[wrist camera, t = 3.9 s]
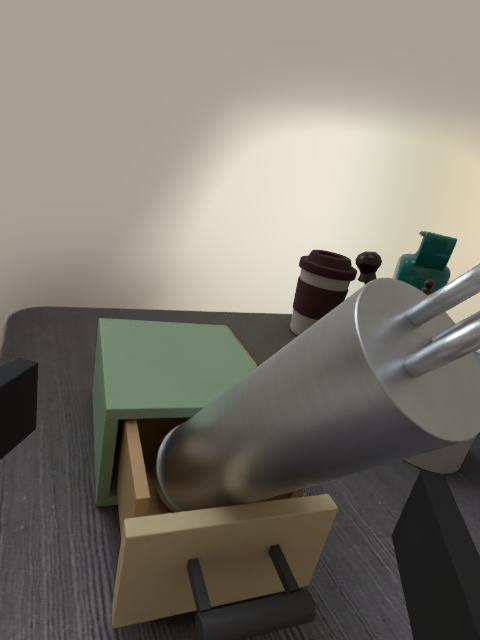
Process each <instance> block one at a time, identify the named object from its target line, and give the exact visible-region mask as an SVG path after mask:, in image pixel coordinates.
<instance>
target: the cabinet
mask: <svg viewBox="0 0 480 640" xmlns="http://www.w3.org/2000/svg"><path fill="white" fill-rule="evenodd" d="M256 368H257V367H256V365H255V364H254V362H253V361H252V360H251V358H250V357H249V356H248V354H247V353H246V352H245V350H244V349H243V347H242V346H241V345H240V343H239V342H238V341H237V339H236V338H235V337H234V335H233V334H232V332H231V331H230V330H229V328H228V327H227V326H224V325H207V324H190V323H173V322H156V321H139V320H122V319H104V318H99V324H98V335H97V347H96V358H95V369H94V380H93V391H92V394H93V427H94V460H95V494H96V507H101V506H111V505H118V499H117V488H116V476H115V465H114V453H115V445H116V437H117V428H118V419H148V418H179V417H193V416H194V415H195V414H197V413H198V412H199V411H201V410H202V409H203V408H204V407H206V406H207V405H208V404H210V403H211V402H212V401H214V400H215V399H216V398H218V397H219V396H220V395H222V394H223V393H224V392H225V391H227V390H228V389H229V388H231V387H232V386H233V385H235V384H236V383H237V382H239V381H240V380H241V379H242V378H244V377H245V376H246V375H248V374H249V373H250V372H252V371H253V370H254V369H256Z"/></svg>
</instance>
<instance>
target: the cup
mask: <svg viewBox="0 0 480 640" xmlns="http://www.w3.org/2000/svg"><path fill="white" fill-rule="evenodd" d="M473 353H474V355H475V357H476V359H477V362H478V364H479V366H480V351H478V350H476V351H474V352H473ZM475 437H476V436H475ZM475 437H474V438H472V439H470V440H468V441H466V442H462V443H459V444H455V445H452V446H448V447H445V448H441V449H438V450H434V451H431V452H427V453H424V454H420V455H417V456H413V457H410V458H407V459H403V460H405V461H407V462H409V463H410V464H412V465H414V466H417V467H419V468H421V469H424V470H427V471H430V472H435V473H441V474H449V473H454V472H456V471H458V470H459V469H460V467H461V465H462V463H463V461H464V459H465V457H466V455H467V453H468V451H469V449H470V447H471V445H472V443H473V441H474V439H475Z"/></svg>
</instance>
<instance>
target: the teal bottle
mask: <svg viewBox="0 0 480 640" xmlns="http://www.w3.org/2000/svg"><path fill="white" fill-rule="evenodd" d="M419 234H420V235H421V236H423V239H422V242H421V245H420V248H419V250H418V251H417V252H416V253H415V254H405V255H402V256H401V257H400V259H399V261H398V263H397V266H396V269H395V271H394V274H393V277H392V279H397V280H400V281H403V282H405V283H408V284H410V285H412V286H414V287H415V288H417V289H419V290H422V289H423V288H424V287H425V282H426V281H427V280H428V279H431V280H433V281H434V283H435V285H434V286H433V288H432V294H433V293H434V292H436V291H437V290H439V289H441V288H442V287H444V286H445V285H447V283H448V281H449V278H450V269H449V268H448V267H447V266H446V265H447V263H448V261H449V258H450V256H451V254H452V251H453V249H454V247H455V244H456V242H457V239H456V238H451V237H447V236H443V235H439V234H435V233H431V232H425V231H422V232H420V233H419Z"/></svg>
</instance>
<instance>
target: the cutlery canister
mask: <svg viewBox="0 0 480 640" xmlns="http://www.w3.org/2000/svg"><path fill="white" fill-rule="evenodd" d="M479 292H480V264H479V265H477V266H475V267H474V268H472V269H471V270H469V271H467V272H466V273H464V274H463V275H461V276H460V277H458V278H456V279H455V280H453V281H452V282H450V283H448V284H447V285H445V286H444V287H442V288H441V289H439V290H437V291H436V292H434V293H433V294H431V295H429V296H427V295H426V294H425V293H423V292H422V291H420V290H419V289H417V288H415V287H414V286H412V285H410V284H408V283H405V282H403V281H400V280H397V279H392V278H379V279H375V280H372V281H370V282H368V283H367V284H366V285H364V286H363V287H362V288H360V289H359V290H358V291H357V292H355V293H354V294H353V295H351V296H350V297H349V298H347V299H346V300H345V301H343V302H342V303H341V304H339V305H338V306H337V307H336V308H334V309H333V310H332V311H330V312H329V313H328V314H326V315H325V316H324V317H322V318H321V319H320V320H318V321H317V322H316V323H315V324H313V325H312V326H311V327H309V328H308V329H307V330H305V331H304V332H303V333H301V334H300V335H299V336H298V337H296V338H295V339H294V340H292V341H291V342H290V343H288V344H287V345H286V346H284V347H283V348H282V349H280V350H279V351H278V352H277V353H275V354H274V355H273V356H271V357H270V358H269V359H267V360H266V361H265V362H263V363H262V364H261V365H260V366H258V367H257V368H256V369H254V370H253V371H252V372H250V373H249V374H248V375H246V376H245V377H244V378H242V379H241V380H240V381H239V382H237V383H236V384H235V385H233V386H232V387H231V388H229V389H228V390H227V391H225V392H224V393H223V394H222V395H220V396H219V397H218V398H216V399H215V400H214V401H212V402H211V403H210V404H208V405H207V406H206V407H204V408H203V409H202V410H201V411H199V412H198V413H197V414H195V415H194V416H193V417H191V418H190V419H189V420H187V421H185V422H182V423H180V424H178V425H177V426H175V427H174V428H173V429H171V430H170V431H169V432H168V433H167V434H166V435H165V436H164V437H163V438H162V439H161V441H160V442H159V444H158V446H157V448H156V451H155V454H154V458H153V464H152V474H153V481H154V485H155V488H156V490H157V493H158V495H159V497H160V498H161V500H162V501H163V503H164V504H165V505H166V506H167V507H168V508H169V509H170V510H171V511H172V512H174V513H176V512H185V511H193V510H201V509H209V508H217V507H225V506H233V505H242V504H250V503H253V502H257V501H260V500H264V499H267V498H271V497H274V496H278V495H281V494H285V493H288V492H292V491H295V490H299V489H302V488H306V487H309V486H313V485H316V484H320V483H323V482H326V481H330V480H333V479H337V478H340V477H344V476H347V475H351V474H354V473H358V472H361V471H365V470H368V469H372V468H375V467H379V466H382V465H386V464H389V463H393V462H396V461H400V460H403V459H407V458H410V457H413V456H417V455H420V454H424V453H427V452H431V451H434V450H438V449H441V448H445V447H448V446H452V445H455V444H459V443H462V442H466V441H468V440H470V439H472V438H474V437H475V436H476V435H477V434H478V433H479V432H480V366H479V364H478V362H477V359H476V357H475V355H474V353H473V352H474V351H476V350H479V349H480V311H479V312H477V313H475V314H473V315H471V316H470V317H468V318H466V319H464V320H462V321H460V322H458V323H457V324H455V323H454V322H453V320H452V319H451V318H450V317H449V316H448V315H447V313H446V311H447V310H449V309H451V308H453V307H454V306H456V305H458V304H460V303H461V302H463V301H465V300H467V299H468V298H470V297H472V296H473V295H475V294H477V293H479Z"/></svg>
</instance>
